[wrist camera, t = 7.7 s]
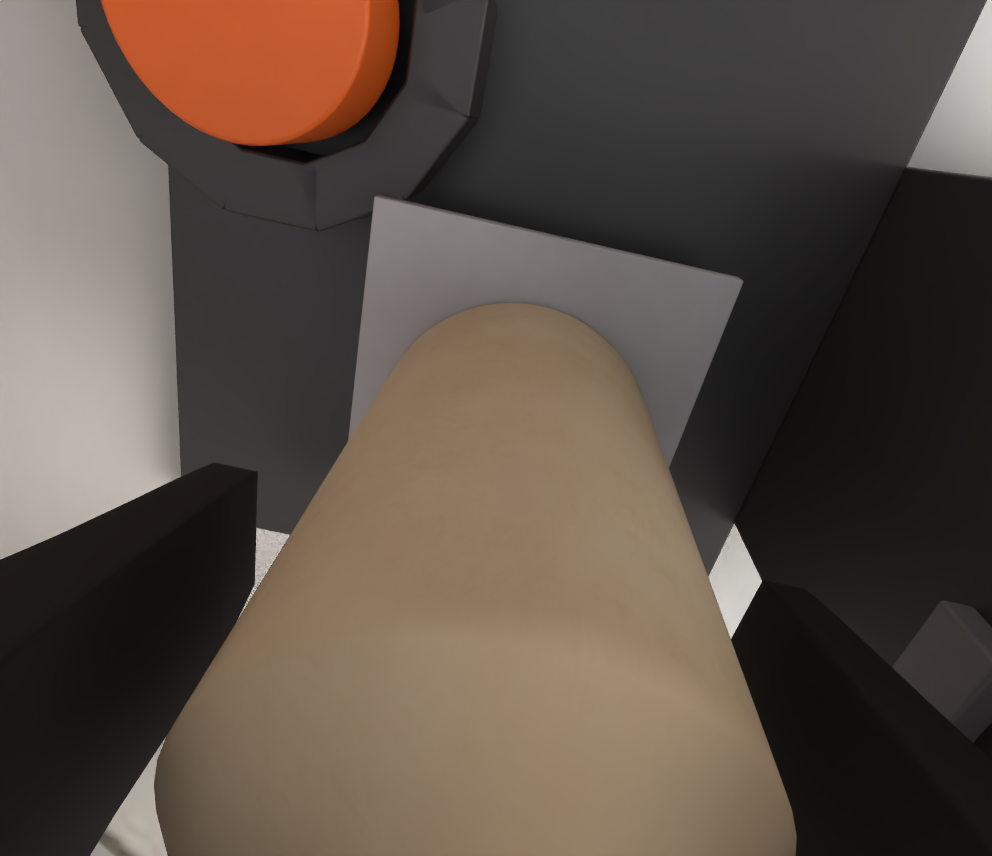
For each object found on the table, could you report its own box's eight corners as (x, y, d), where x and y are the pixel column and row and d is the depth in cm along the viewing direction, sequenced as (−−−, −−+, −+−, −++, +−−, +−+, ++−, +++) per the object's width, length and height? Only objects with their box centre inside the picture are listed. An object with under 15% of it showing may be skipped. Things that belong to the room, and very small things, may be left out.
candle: (437, 251, 11) (40, 724, 2) (694, 366, 12) (1134, 1072, 3) (352, 477, 14) (-2, 1131, 5) (570, 562, 14) (614, 1274, 5)
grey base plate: (680, 591, 19) (702, 669, 16) (188, 486, 18) (127, 549, 16) (968, -33, 11) (1097, -81, 9) (162, -233, 11) (40, -349, 8)
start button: (386, 164, 11) (355, 172, 10) (175, 115, 11) (103, 113, 9) (416, -107, 9) (385, -161, 8) (165, -167, 9) (73, -237, 8)
